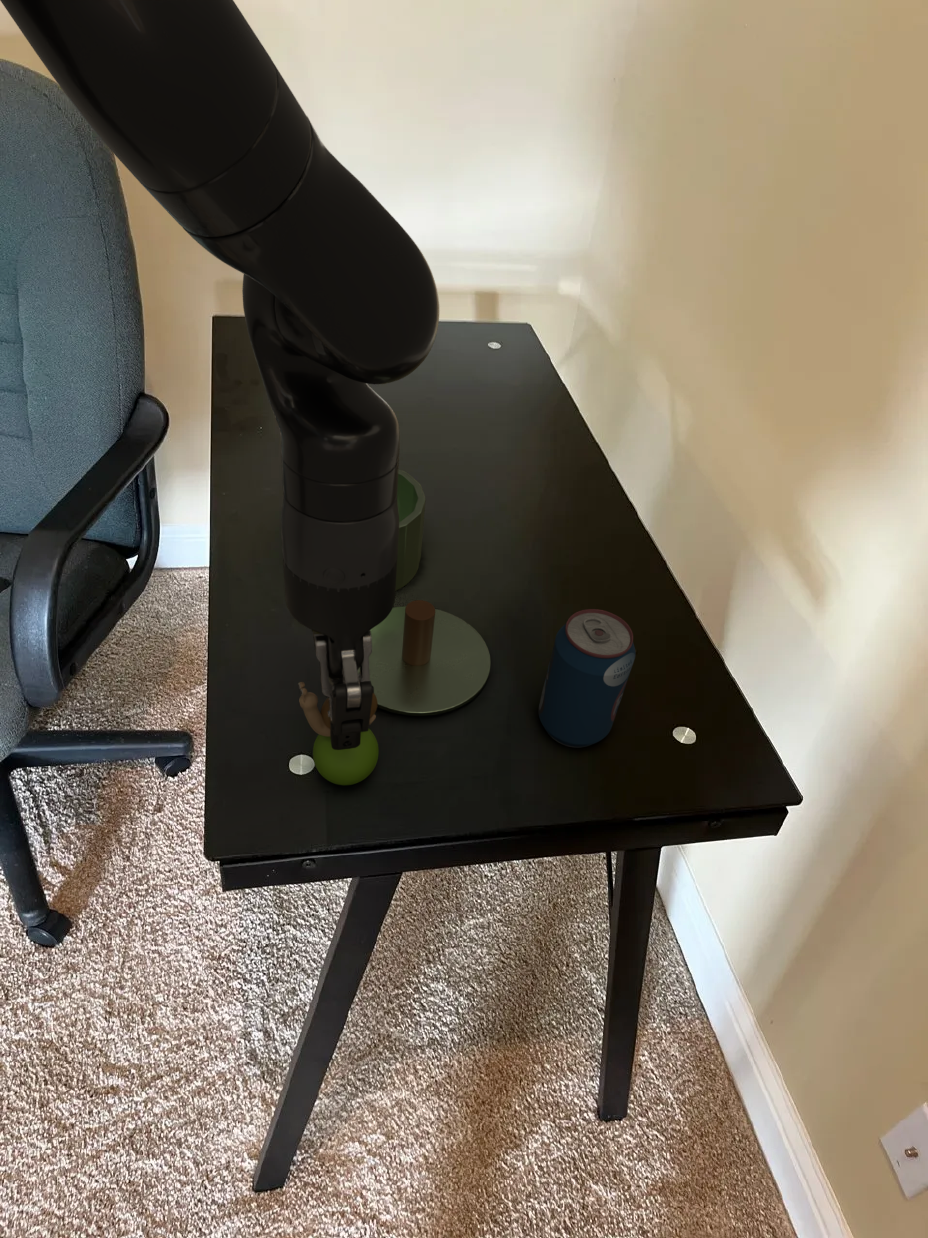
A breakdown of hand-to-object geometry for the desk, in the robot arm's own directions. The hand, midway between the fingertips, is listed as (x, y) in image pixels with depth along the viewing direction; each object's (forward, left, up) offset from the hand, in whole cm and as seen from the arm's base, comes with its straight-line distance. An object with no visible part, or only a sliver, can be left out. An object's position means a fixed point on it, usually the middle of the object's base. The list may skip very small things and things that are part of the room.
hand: (340, 716), depth 65 cm
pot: (+6, +29, -7) cm, 31 cm away
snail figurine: (0, 0, -8) cm, 8 cm away
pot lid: (+9, +12, -7) cm, 16 cm away
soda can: (+22, +2, -8) cm, 23 cm away
